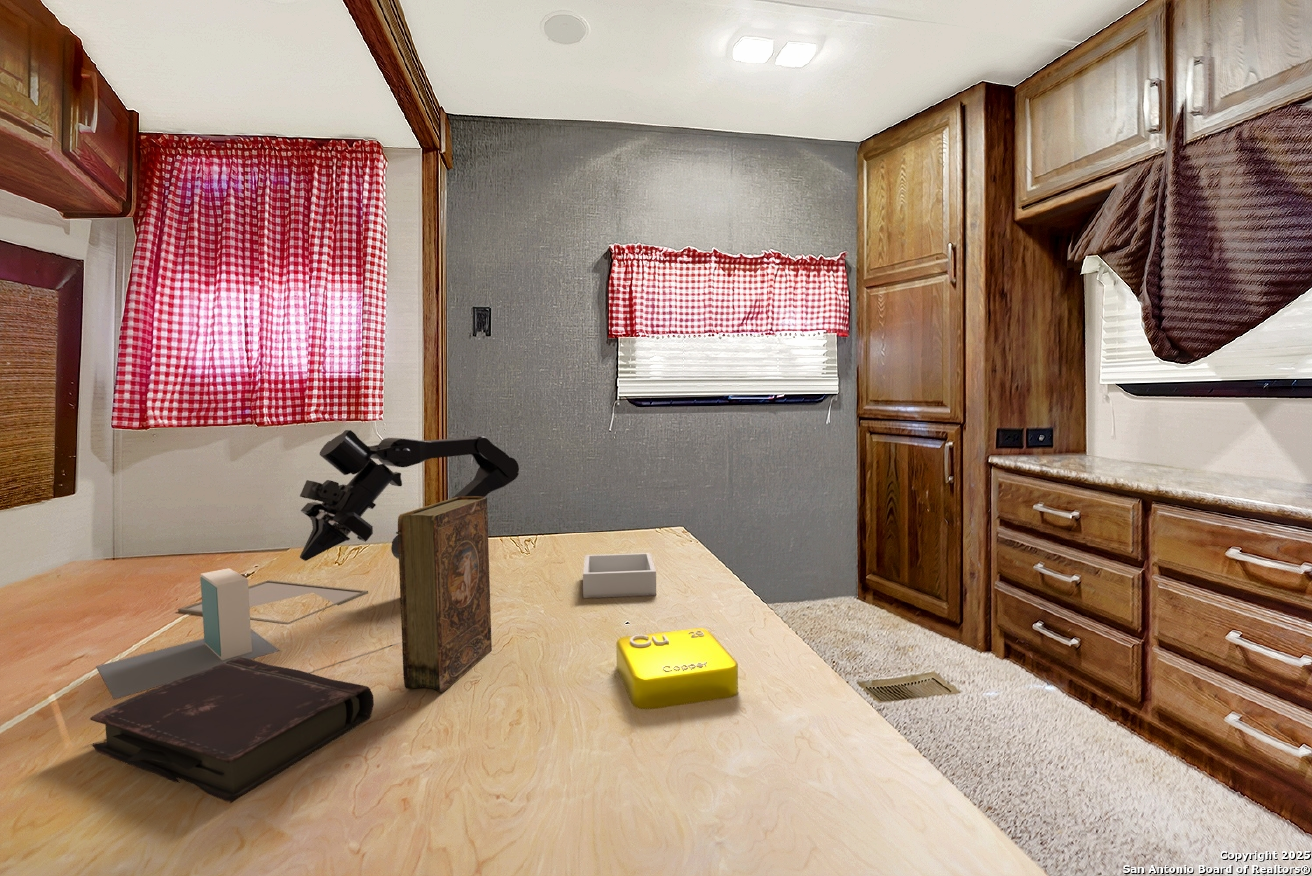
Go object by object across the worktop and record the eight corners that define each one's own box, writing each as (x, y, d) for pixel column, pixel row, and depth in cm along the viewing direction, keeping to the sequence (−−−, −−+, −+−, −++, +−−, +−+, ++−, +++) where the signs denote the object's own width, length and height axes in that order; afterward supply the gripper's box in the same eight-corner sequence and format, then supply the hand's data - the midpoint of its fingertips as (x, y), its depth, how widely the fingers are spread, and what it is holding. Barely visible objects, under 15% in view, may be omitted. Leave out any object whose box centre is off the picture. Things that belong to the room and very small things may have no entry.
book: (465, 644, 98) (459, 495, 96) (495, 647, 97) (490, 496, 95) (404, 693, 82) (396, 515, 80) (439, 696, 81) (432, 516, 79)
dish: (650, 574, 136) (650, 552, 136) (656, 595, 121) (656, 571, 121) (585, 576, 135) (585, 555, 135) (583, 598, 120) (582, 574, 120)
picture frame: (178, 614, 115) (288, 629, 107) (178, 609, 115) (287, 623, 107) (268, 584, 134) (368, 595, 125) (268, 580, 134) (368, 590, 125)
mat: (248, 629, 106) (248, 627, 106) (280, 652, 96) (279, 650, 96) (96, 668, 91) (96, 666, 91) (114, 702, 80) (114, 699, 80)
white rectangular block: (233, 636, 102) (229, 568, 101) (252, 651, 95) (247, 579, 94) (203, 644, 98) (199, 573, 98) (221, 660, 92) (216, 585, 91)
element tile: (635, 714, 76) (634, 678, 76) (614, 664, 91) (613, 633, 90) (743, 698, 80) (742, 663, 79) (706, 652, 94) (706, 623, 94)
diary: (247, 685, 86) (245, 651, 85) (375, 718, 76) (373, 681, 76) (83, 758, 68) (80, 716, 68) (222, 813, 59) (219, 764, 59)
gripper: (310, 460, 114) (246, 526, 106) (351, 466, 102) (283, 541, 94) (354, 495, 121) (297, 560, 113) (398, 505, 109) (337, 578, 101)
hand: (302, 559), depth 105 cm, fingers closed
